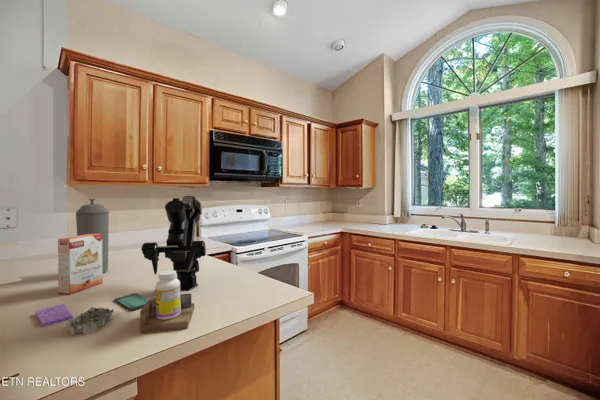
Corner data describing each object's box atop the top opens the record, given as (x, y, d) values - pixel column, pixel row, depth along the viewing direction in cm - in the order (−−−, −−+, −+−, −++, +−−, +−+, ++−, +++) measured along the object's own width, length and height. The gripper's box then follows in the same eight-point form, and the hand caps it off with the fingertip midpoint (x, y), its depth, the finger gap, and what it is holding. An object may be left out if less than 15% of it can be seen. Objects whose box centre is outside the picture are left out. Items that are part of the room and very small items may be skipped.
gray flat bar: (157, 308, 87) (157, 296, 87) (191, 305, 89) (191, 293, 89) (156, 310, 86) (156, 297, 86) (191, 307, 88) (190, 294, 88)
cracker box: (70, 295, 104) (69, 239, 104) (57, 293, 106) (56, 238, 105) (104, 283, 118) (103, 233, 117) (92, 282, 119) (91, 233, 119)
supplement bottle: (156, 312, 84) (156, 270, 84) (180, 309, 87) (180, 268, 86) (154, 322, 78) (153, 276, 78) (180, 318, 81) (179, 274, 80)
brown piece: (154, 313, 89) (153, 294, 89) (194, 309, 92) (193, 291, 91) (140, 333, 76) (140, 311, 76) (187, 328, 79) (187, 307, 79)
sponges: (64, 309, 93) (63, 303, 93) (73, 320, 85) (73, 314, 85) (35, 316, 88) (34, 310, 88) (42, 329, 80) (42, 322, 80)
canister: (115, 271, 135) (113, 198, 134) (83, 278, 124) (82, 199, 123) (102, 267, 141) (101, 198, 140) (72, 274, 131) (70, 198, 130)
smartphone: (135, 292, 105) (154, 301, 95) (135, 295, 105) (154, 305, 95) (112, 298, 99) (130, 309, 90) (112, 302, 99) (130, 313, 90)
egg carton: (90, 336, 75) (89, 321, 75) (62, 335, 75) (62, 320, 75) (117, 317, 86) (116, 304, 86) (92, 317, 86) (92, 304, 86)
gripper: (208, 244, 104) (205, 283, 94) (153, 246, 100) (144, 287, 90) (205, 225, 97) (202, 265, 86) (146, 227, 92) (135, 269, 82)
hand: (171, 272), depth 86 cm, fingers open, 9 cm apart
